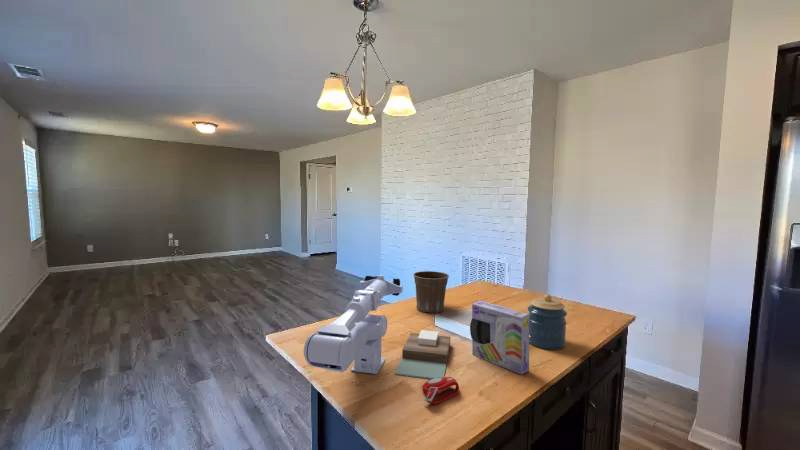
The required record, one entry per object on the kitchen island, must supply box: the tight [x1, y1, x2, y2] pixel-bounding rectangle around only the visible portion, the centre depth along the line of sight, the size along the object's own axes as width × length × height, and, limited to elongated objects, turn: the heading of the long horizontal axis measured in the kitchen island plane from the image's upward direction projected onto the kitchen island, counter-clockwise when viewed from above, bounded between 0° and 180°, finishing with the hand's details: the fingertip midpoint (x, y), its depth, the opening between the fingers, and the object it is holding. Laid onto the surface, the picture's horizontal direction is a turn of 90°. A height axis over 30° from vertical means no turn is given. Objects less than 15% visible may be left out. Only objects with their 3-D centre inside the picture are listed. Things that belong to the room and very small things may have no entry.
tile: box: [418, 329, 439, 346], centre depth 117 cm, size 7×6×2 cm
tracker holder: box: [421, 376, 460, 405], centre depth 91 cm, size 12×4×10 cm
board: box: [401, 332, 451, 365], centre depth 116 cm, size 14×14×3 cm
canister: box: [527, 293, 568, 351], centre depth 124 cm, size 13×13×18 cm
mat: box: [394, 358, 447, 380], centre depth 104 cm, size 10×14×1 cm
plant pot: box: [412, 270, 450, 314], centre depth 159 cm, size 16×16×16 cm
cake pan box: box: [469, 300, 530, 376], centre depth 109 cm, size 19×5×18 cm, turn 40°
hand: (387, 280), depth 124 cm, fingers open, 7 cm apart
